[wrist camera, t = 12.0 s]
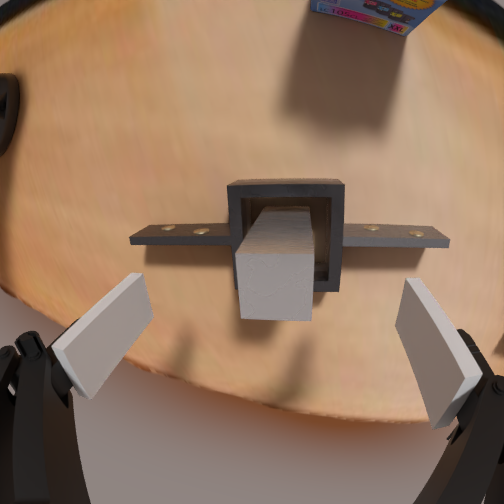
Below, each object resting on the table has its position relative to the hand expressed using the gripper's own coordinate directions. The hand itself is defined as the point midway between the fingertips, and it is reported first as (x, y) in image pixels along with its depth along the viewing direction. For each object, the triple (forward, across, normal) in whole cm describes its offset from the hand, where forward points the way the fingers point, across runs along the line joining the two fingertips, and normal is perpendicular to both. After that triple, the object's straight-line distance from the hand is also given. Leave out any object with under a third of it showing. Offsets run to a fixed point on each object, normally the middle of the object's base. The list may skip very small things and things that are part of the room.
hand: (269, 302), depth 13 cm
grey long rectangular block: (+14, 0, 0) cm, 14 cm away
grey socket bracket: (+14, 0, 0) cm, 14 cm away
